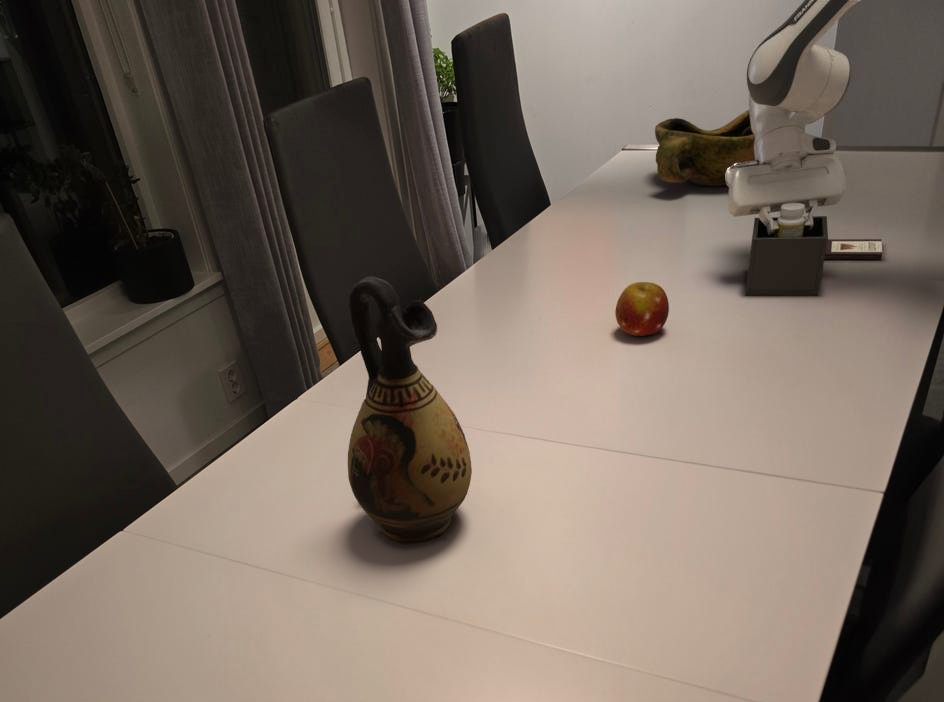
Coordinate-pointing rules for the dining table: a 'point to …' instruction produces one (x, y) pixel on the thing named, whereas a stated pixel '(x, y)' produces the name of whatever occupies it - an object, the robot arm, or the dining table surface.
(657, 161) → the bowl
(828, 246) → the chocolate bar
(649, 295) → the fruit
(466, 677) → the dining table surface
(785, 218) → the supplement bottle
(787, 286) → the trash bin
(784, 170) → the robot arm
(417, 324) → the ceramic jug
